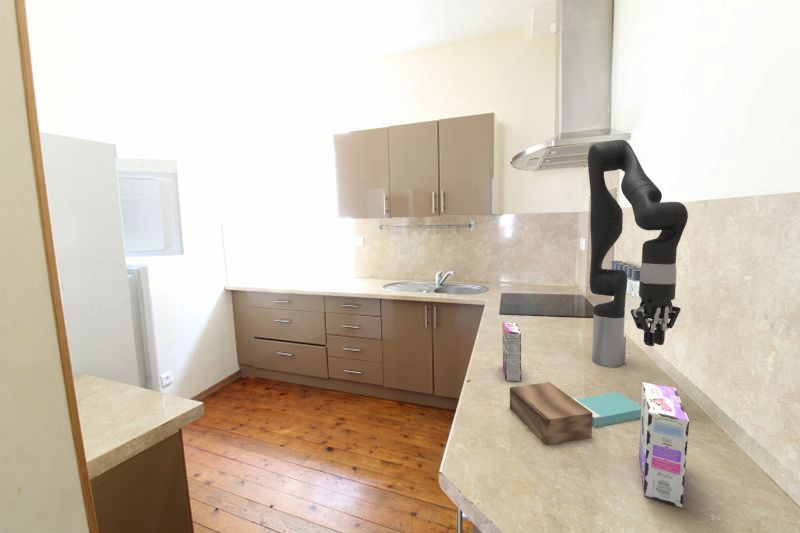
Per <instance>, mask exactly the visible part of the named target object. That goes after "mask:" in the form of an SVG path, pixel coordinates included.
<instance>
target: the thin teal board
mask: <svg viewBox="0 0 800 533" xmlns="http://www.w3.org/2000/svg"><path fill="white" fill-rule="evenodd" d="M573 399H574V400H575V401H577V402H578V403H580V404H581V405H582V406H584V407H585V408H587V409H588V410H589V411H591V412H592V428H598V427H604V426H607V425H609V426H610V425H613V424H618V423H624V422H627V421H632V420H636V419H641V403H638V402H636V401H634V400H633V399H631V398H629V397H627V396H625V395H623V394H621V393H619V392H617V391H614V392H608V393H601V394H597V395H592V396H585V397H579V398H575V397H574V398H573Z"/></svg>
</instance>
